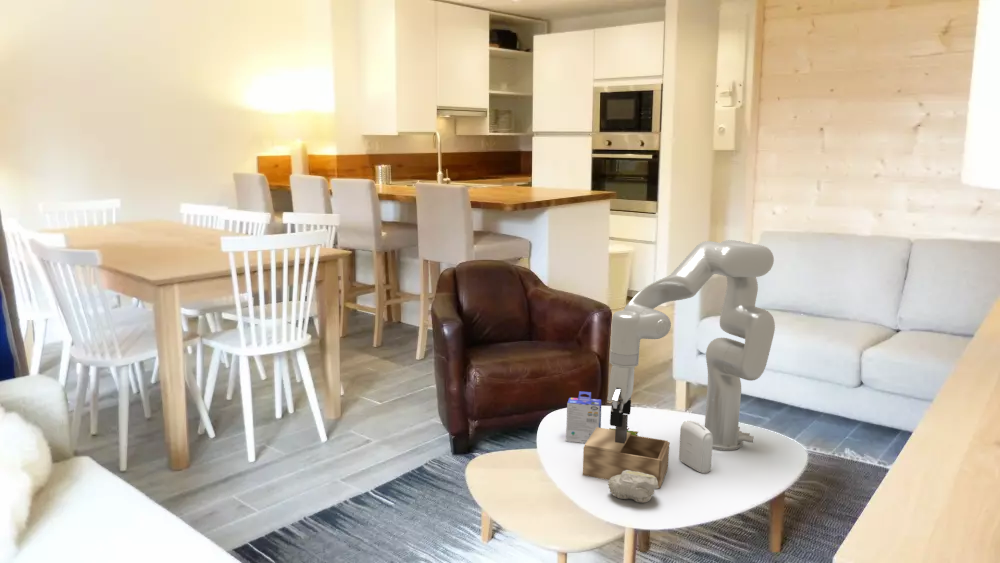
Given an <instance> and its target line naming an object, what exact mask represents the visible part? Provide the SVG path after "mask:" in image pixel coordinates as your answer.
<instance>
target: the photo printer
mask: <svg viewBox="0 0 1000 563" xmlns="http://www.w3.org/2000/svg"><path fill="white" fill-rule="evenodd" d="M680 425H681V426H680V428H679V429H680V434H679V450H678V452H679V453H678V460H679V461H680V462H681V463H683V464H685V465H686V466H688V467H690V468H691V469H693V470H695V471H696V472H699V473H701V474H707V473H709V472H710V471H711V470H712V461H713V459H712V458H713V448H712V445H713V435H712V433H711V432H710V431H709V430H708V429H707V428H706V427H705V425H703V424H701V423H700V422H697V421H695V420H686V421H683V422H682V424H680Z"/></svg>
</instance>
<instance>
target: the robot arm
mask: <svg viewBox="0 0 1000 563" xmlns="http://www.w3.org/2000/svg"><path fill="white" fill-rule="evenodd" d="M774 261H775V259H774V254H773V251H772V250H771V249H769V247H767V246H764V245H761V244H754V243H750V242H745V241H740V240H732V239H731V240H730V239H729V240H728V239H727V240H723V241H721V242H719V241H718V242H717V241H712V240H705V241H702V242H699V243H698V245H696V246H695V247H694V248H693V249H692V250H691V252H689V254H688V255H687V256H686V257H685V258H684V259H683V261H682V262H681V263H680V264H679V265H678V266H677V267H676V268H675V269H674V270H673V272H671V273H670V274H669V275H668V276H665V277H663V278H661V279H658V280H656V281H655V282H652V283H650V284H648V285H647V286H645V287H643V288H642V289H641V290H639V291H638V292H637V293H636V294H635V295H634V296H633V297H632V299H630V301H628V303H627V304H626V305H625V307H624V309H622V310H618V311H617V310H616V311H615V312H613V314H612V318H611V332H610V333H611V334H610V347H609V348H610V349H609V364H611V370H610V376H609V385H608V395H607V401H608V402H612V403H611V406H610V416H609V417H610V418H609V424H610V427H611V426H612V427H616V426H617V427H622V425H623V414H625V415H630V414H631V408H632V407H631V406H632V400H631V399H632V395H633V392H634V382H635V367H638V366H639V362H640V344H641V343H640V342H641V340H658V339H662V338H664V337H665V336H667V335H668V334H669V333H670V331H671V328H672V323H671V319H670V318H669V316H668V315H667V314H666V313H664V312H662V311H659V310H656V309H655V308H657V307H659V306H661V305H663V304H665V303H670V302H674V301H683V300H686V299H687V300H688V299H690V298H693V297H694V296H696V295H697V293H698V292H699V291H700V290H701V289H702V288H703V286H705V284H706V283H707V282H708V281H709V280H710V279H711V277H713V275H720V276H723V277H724V276H725V277H726V291H725V295H724V299H723V304H722V307H721V313H720V317H719V327H720V329H721V330H722V331H723V332H725V333H727V334H729V335H732V336H735V337H736V338H737V337H738V338H741V339H744V343H743V342H741V341H739V340H735V339H732V338H728V337H717V338H714V339H712V340H711V341H710V342H709V343H708V345H707V347H706V352H705V359H706V360H705V362H706V367H707V368H706V369H707V386H706V387H707V388H706V400H705V402H706V404H705V414H704V415H705V416H704V427H706V428H707V429H708V430H709V431H710V432H711V433H712V435H713V445H712V450H716V451H735V450H738V449H740V448H742V446H743V442H745V443H746V442H747V443H751V444H752V443H753V444H754V440H755V439H754V437H755V436H754V435H751V434H750V432H743V431H741V427H740V426H739V424H740V423H739V422H740V410H741V408H740V407H741V398H742V397H741V396H742V382H741V379H742V380H745V381H750V382H751V381H752V382H753V381H756V380H758V379H760V377H762V375H763V373H764V372H765V370H766V367H767V363H768V360H769V356H770V351H771V347H772V344H773V339H774V335H775V331H776V329H775V328H776V322H775V319H774V317H773V314H772V313H770V312H769V311H768V310H766V309H764V308H761V307H757V306H756V302H757V297H758V290H759V284H758V280H757V279H758V277H762V276H765V275H766V274H768V273H769V272H770V271H771V270H772V268H773V266H774Z"/></svg>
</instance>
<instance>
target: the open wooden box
mask: <svg viewBox="0 0 1000 563" xmlns="http://www.w3.org/2000/svg"><path fill="white" fill-rule="evenodd" d="M669 456H670V442H669V441H668V440H665V439H659V438H652V437H647V436H641V435H640V436H639V435H637V436H635V435H630V436H629V438H628V440H627V442H626V444H625V445H624V447H623V449H622V451H621V452H620V453H617V452H611V451H605V450H599V449H593V448H587V447H585V445H584V446H583V456H582V457H583V458H582V476H585V477H590V478H595V479H602V480H605V481H606V480H607V481H609V479H610V478H611V477H614V476H616V475H620V474H622V472H623V471H625V470H631V471H635V472H640V473H645V474H649V475H653V476H655V477H656V478H657V481H658V486H659V488H657V489H656V490H658V489H661V488H662V485H663V482H664V480H665V477H666V474H667V472H668V469H669V460H670V458H669Z"/></svg>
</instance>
